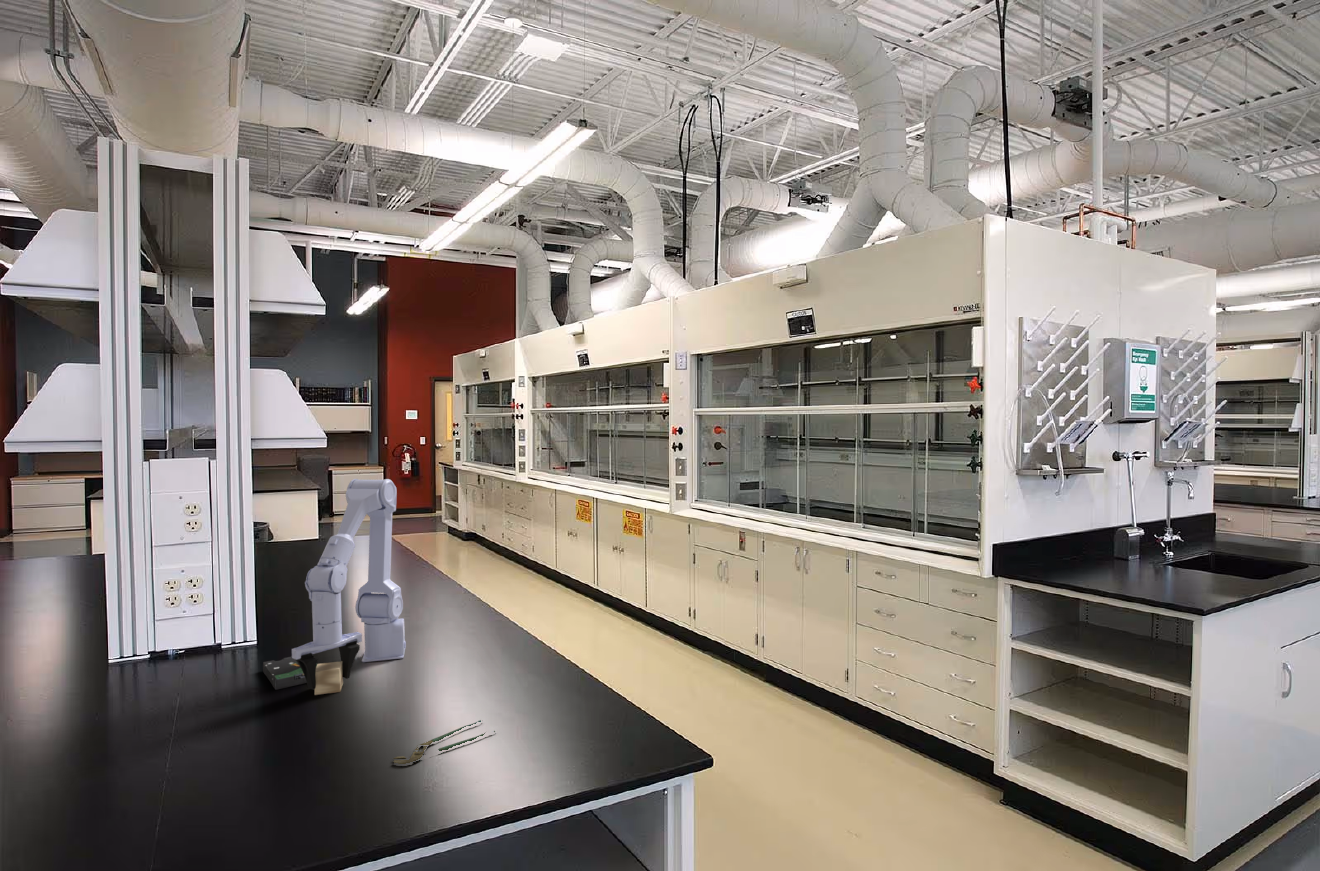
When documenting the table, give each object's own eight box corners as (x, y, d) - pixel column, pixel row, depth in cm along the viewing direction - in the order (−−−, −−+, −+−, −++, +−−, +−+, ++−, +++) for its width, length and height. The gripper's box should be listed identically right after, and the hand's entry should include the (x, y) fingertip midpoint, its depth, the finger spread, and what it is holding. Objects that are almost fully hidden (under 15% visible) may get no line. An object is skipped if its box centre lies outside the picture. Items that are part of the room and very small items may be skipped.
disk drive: (261, 674, 168) (275, 692, 156) (261, 662, 168) (275, 679, 156) (309, 663, 174) (326, 680, 163) (309, 652, 174) (326, 667, 163)
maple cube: (343, 683, 160) (342, 661, 160) (340, 691, 155) (339, 668, 155) (318, 686, 158) (317, 663, 158) (314, 694, 153) (313, 671, 153)
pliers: (482, 725, 139) (482, 718, 139) (501, 734, 135) (501, 727, 134) (383, 760, 125) (383, 753, 125) (401, 772, 120) (401, 764, 120)
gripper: (349, 610, 164) (351, 668, 165) (284, 625, 153) (286, 688, 153) (366, 615, 160) (367, 675, 160) (299, 631, 148) (301, 696, 149)
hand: (329, 682), depth 157 cm, fingers closed on maple cube, 7 cm apart
